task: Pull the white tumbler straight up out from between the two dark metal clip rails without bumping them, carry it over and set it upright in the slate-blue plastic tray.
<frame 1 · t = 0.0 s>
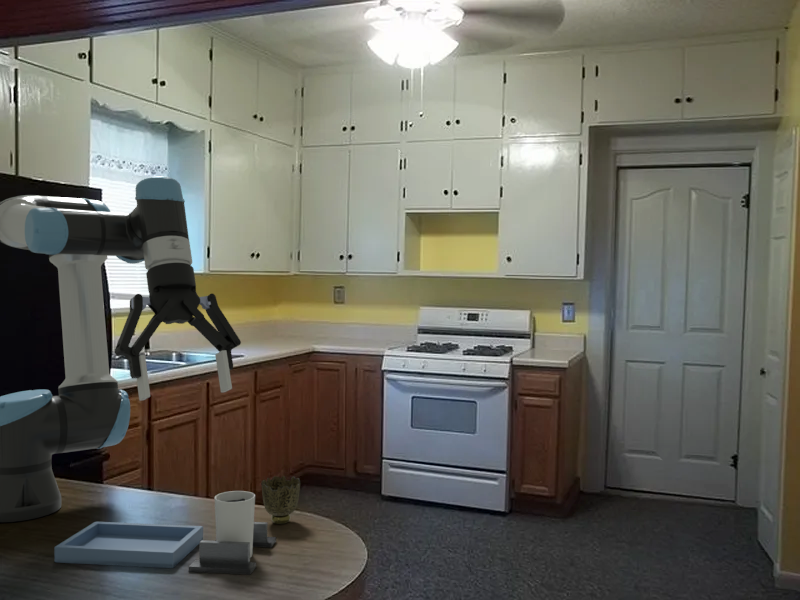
hand: (187, 394, 119), 28 cm above the table, tool tilted 20°, fingers open, 13 cm apart
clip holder: (234, 555, 125), on the table
white tumbler: (234, 556, 125), on the table
tray: (131, 550, 127), on the table
cup: (280, 523, 143), on the table
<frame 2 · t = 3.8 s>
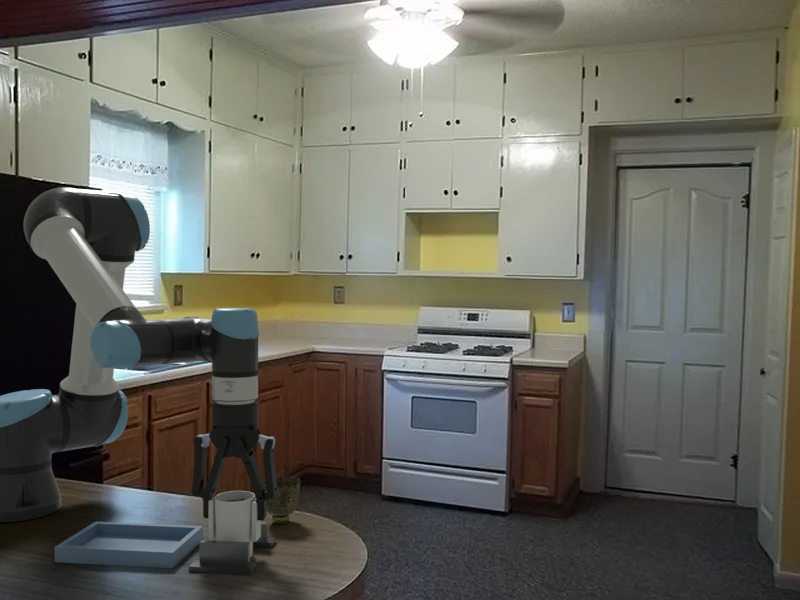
hand: (234, 537, 125), 3 cm above the table, tool pointing down, fingers closed on white tumbler, 7 cm apart
white tumbler: (234, 556, 125), on the table, touching gripper
everything else where it was.
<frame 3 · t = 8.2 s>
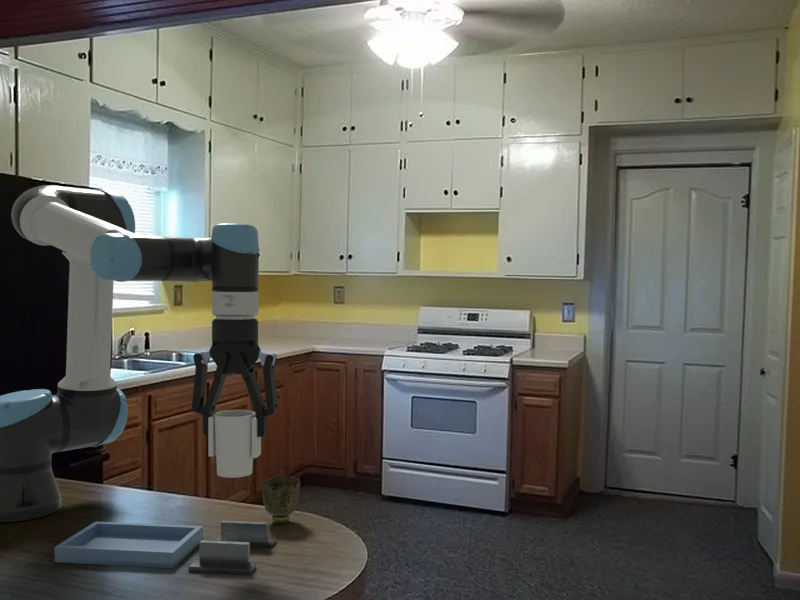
hand: (234, 455, 125), 17 cm above the table, tool pointing down, fingers closed on white tumbler, 7 cm apart
white tumbler: (234, 474, 125), point 14 cm above the table, touching gripper
everything else where it was.
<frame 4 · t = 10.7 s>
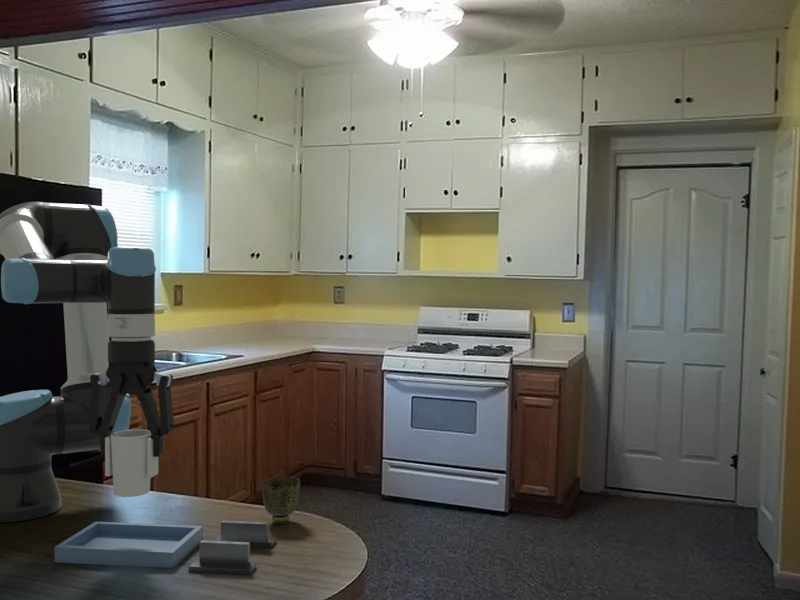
hand: (131, 474, 126), 13 cm above the table, tool pointing down, fingers closed on white tumbler, 7 cm apart
white tumbler: (131, 493, 127), point 10 cm above the table, touching gripper
everything else where it was.
when the fingers open (5 cm above the table, at t = 12.8 s): white tumbler drops 1 cm, resting on tray.
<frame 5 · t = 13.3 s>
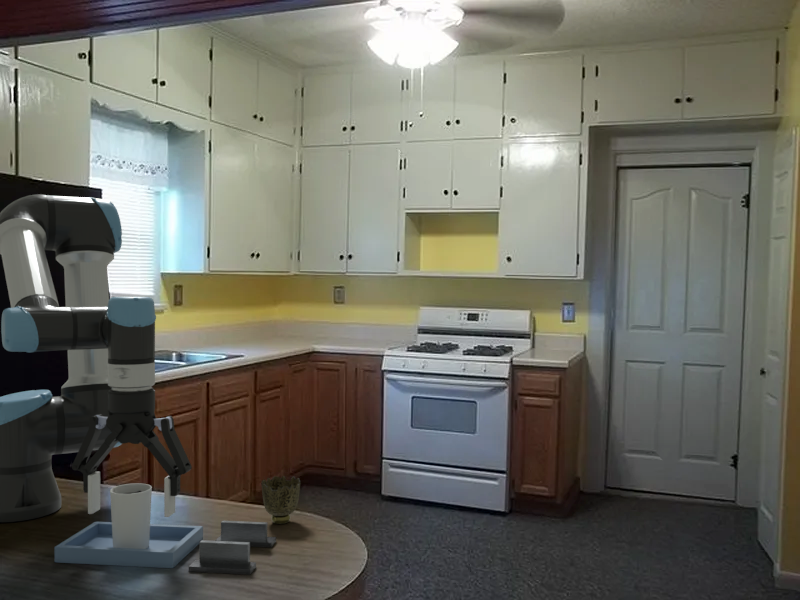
hand: (131, 513, 127), 6 cm above the table, tool pointing down, fingers open, 13 cm apart
white tumbler: (131, 548, 127), resting on tray
everything else where it was.
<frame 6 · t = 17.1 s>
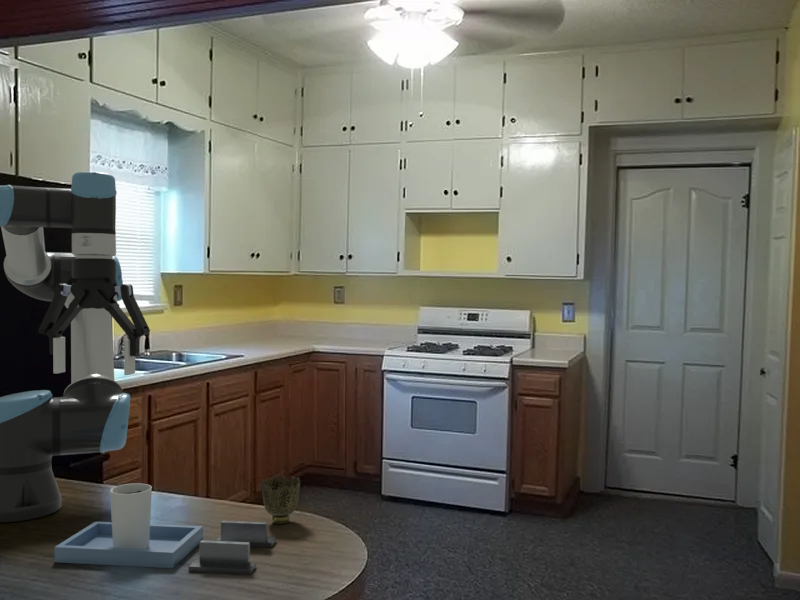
hand: (94, 373, 137), 29 cm above the table, tool pointing down, fingers open, 13 cm apart
nothing on the table moved.
at the end: white tumbler inside the target area on the tray (0.1 cm from its centre), point 0.4 cm above the tray's base; white tumbler tilted 0°; the gripper is holding nothing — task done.
